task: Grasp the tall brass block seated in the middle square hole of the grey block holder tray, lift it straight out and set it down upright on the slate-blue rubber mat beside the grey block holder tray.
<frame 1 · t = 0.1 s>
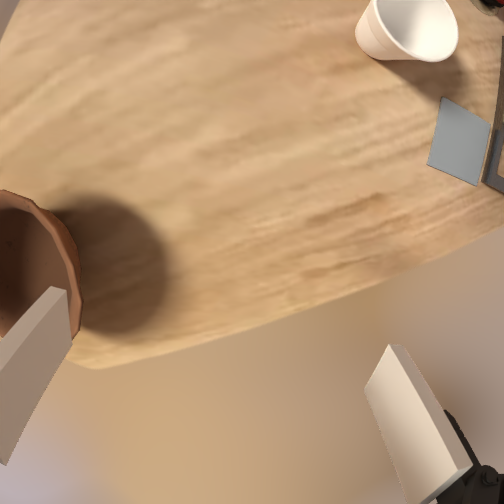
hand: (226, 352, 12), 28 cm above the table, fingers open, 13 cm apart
mat: (460, 142, 35), on the table
cup: (376, 38, 31), on the table
bowl: (48, 248, 39), on the table
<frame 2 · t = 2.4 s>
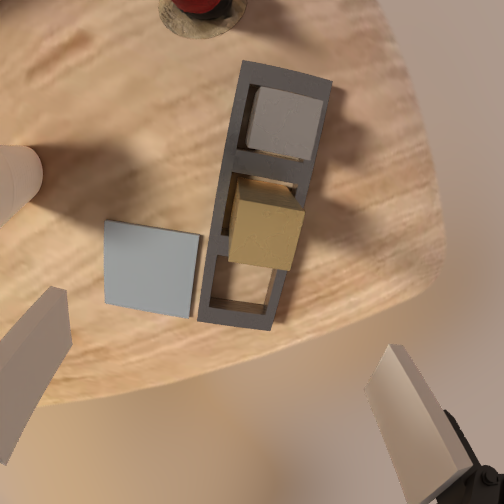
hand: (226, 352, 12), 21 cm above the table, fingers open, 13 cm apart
mat: (147, 270, 33), on the table
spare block: (274, 122, 28), resting in grey block holder tray
figurine: (202, 2, 23), on the table
cup: (25, 172, 28), on the table
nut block: (260, 217, 27), in the grey block holder tray
grey block holder tray: (257, 204, 31), on the table
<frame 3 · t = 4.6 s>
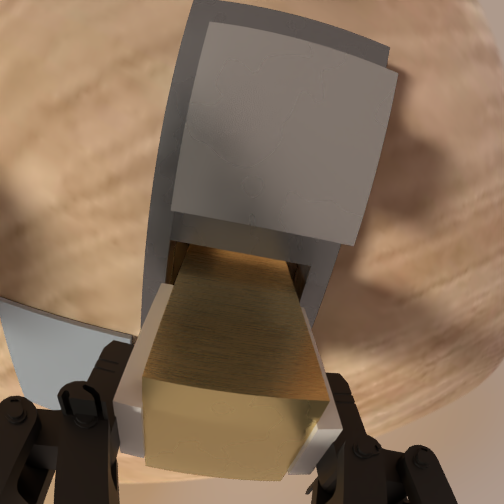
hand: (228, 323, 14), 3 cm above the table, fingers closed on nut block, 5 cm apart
mat: (67, 373, 18), on the table
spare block: (264, 131, 13), resting in grey block holder tray
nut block: (227, 348, 12), in the grey block holder tray, touching gripper
grey block holder tray: (229, 292, 16), on the table
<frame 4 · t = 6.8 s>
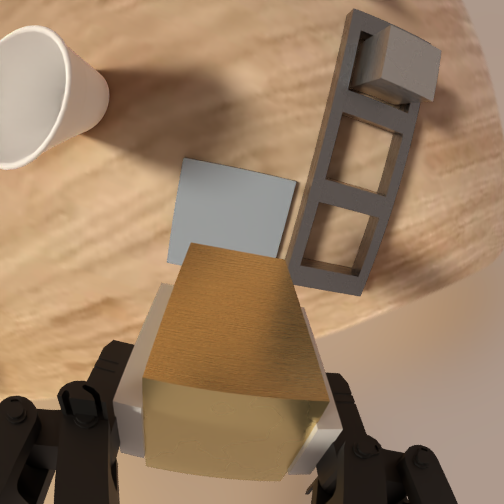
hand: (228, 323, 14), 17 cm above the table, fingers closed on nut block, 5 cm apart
mat: (228, 222, 29), on the table
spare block: (376, 74, 24), resting in grey block holder tray
cup: (83, 101, 24), on the table
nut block: (227, 348, 12), point 18 cm above the table, touching gripper
grey block holder tray: (358, 153, 27), on the table
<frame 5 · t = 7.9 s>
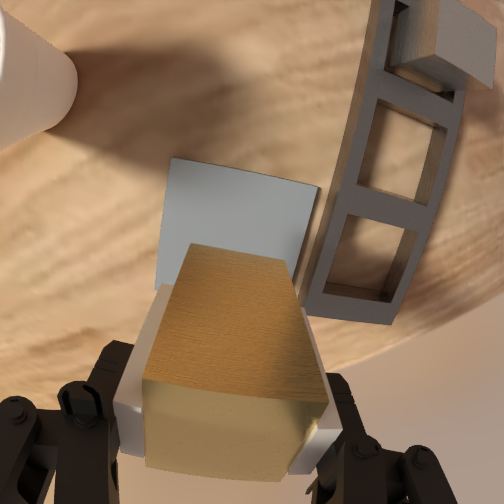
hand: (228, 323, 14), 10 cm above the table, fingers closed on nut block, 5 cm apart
mat: (230, 239, 23), on the table
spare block: (412, 54, 18), resting in grey block holder tray
cup: (48, 91, 18), on the table
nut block: (226, 349, 12), point 12 cm above the table, touching gripper
grey block holder tray: (392, 151, 21), on the table
when the fingers open (5 cm above the table, at t = 8.9 s): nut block drops 2 cm, resting on mat.
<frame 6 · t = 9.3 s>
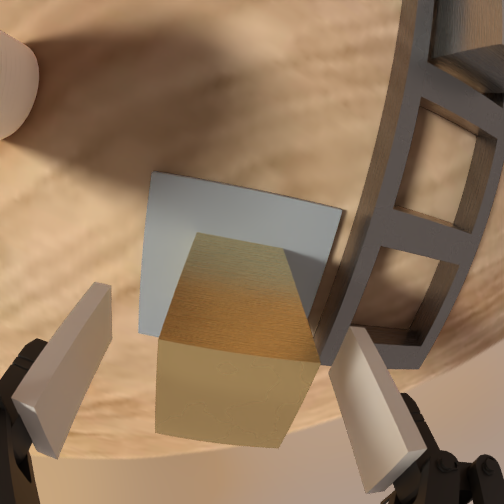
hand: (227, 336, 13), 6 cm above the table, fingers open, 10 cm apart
mat: (230, 275, 18), on the table
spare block: (454, 46, 13), resting in grey block holder tray
cup: (8, 90, 13), on the table
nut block: (230, 326, 13), on the mat
grey block holder tray: (432, 164, 16), on the table
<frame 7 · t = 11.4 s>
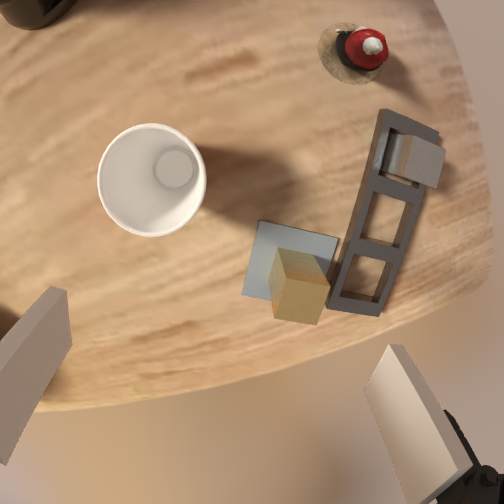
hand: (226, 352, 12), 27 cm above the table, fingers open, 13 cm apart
mat: (289, 266, 40), on the table
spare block: (397, 157, 36), resting in grey block holder tray
figurine: (350, 53, 31), on the table
cup: (175, 168, 36), on the table
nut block: (295, 283, 36), on the mat
grey block holder tray: (381, 216, 38), on the table
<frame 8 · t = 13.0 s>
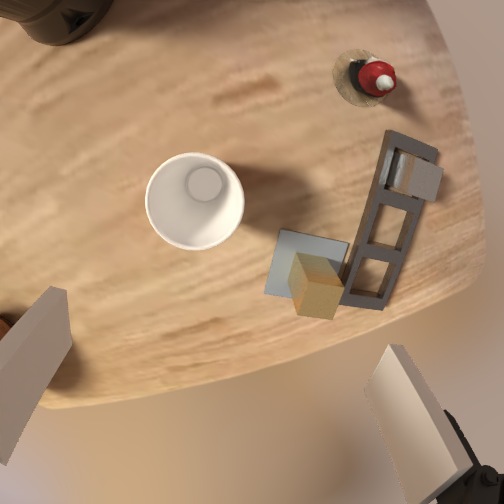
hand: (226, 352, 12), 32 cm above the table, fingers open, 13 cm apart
mat: (305, 268, 46), on the table
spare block: (400, 171, 41), resting in grey block holder tray
figurine: (361, 78, 36), on the table
cup: (205, 183, 41), on the table
bowl: (6, 333, 49), on the table
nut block: (313, 284, 41), on the mat
grey block holder tray: (385, 223, 44), on the table
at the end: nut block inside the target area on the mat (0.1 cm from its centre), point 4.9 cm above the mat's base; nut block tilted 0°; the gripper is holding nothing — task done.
